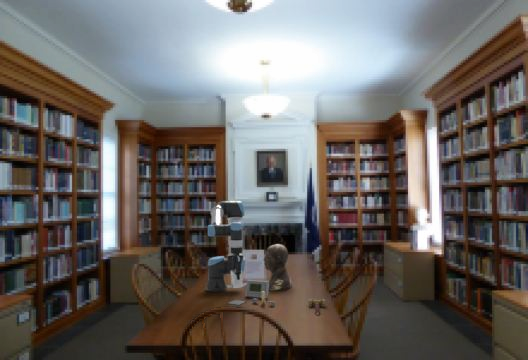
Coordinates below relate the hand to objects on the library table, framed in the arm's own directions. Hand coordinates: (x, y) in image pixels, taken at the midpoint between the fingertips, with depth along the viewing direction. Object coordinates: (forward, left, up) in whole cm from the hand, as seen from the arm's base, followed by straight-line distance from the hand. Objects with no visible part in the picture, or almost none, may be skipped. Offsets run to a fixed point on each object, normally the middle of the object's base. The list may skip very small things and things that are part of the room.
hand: (236, 283), depth 244 cm
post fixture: (+16, +6, -12) cm, 21 cm away
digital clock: (+3, +20, -13) cm, 24 cm away
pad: (0, 0, -12) cm, 12 cm away
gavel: (+50, +11, -13) cm, 53 cm away
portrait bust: (-3, +57, -13) cm, 58 cm away
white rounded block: (0, 0, -2) cm, 2 cm away
